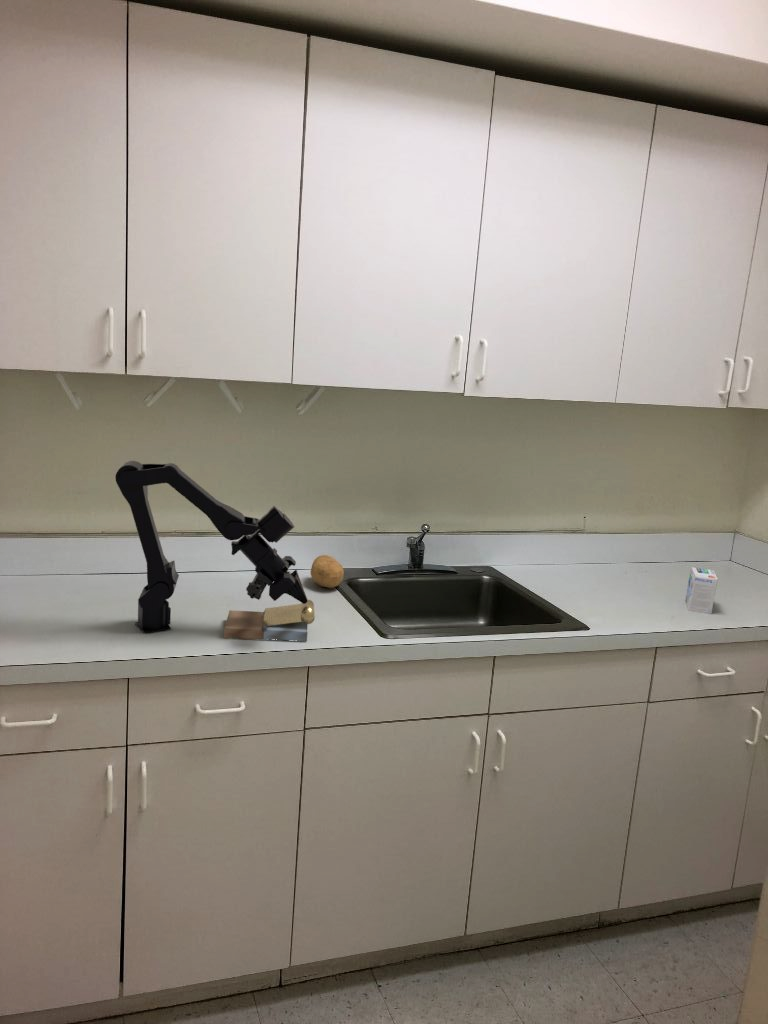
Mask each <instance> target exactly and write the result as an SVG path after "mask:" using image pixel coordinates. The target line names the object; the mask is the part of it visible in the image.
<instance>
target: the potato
mask: <svg viewBox="0 0 768 1024" xmlns="http://www.w3.org/2000/svg"><path fill="white" fill-rule="evenodd" d="M344 574H345V570H344V568H343V565H342V564H341V563H340V562H339V561H338V560H337V559H335V558H334V557H333V556H331V555H328V554H321V555H319V556H317V557H316V558H315V559H314V560H313V562H312V564H311V567H310V576H311V579H312V581H314V583H316V584H317V585H319V587H323V588H328V589H332V588H336V587H338V586H339V585H340V583H342V582H343V580H344Z"/></svg>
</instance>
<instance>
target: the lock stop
mask: <svg viewBox="0 0 768 1024" xmlns="http://www.w3.org/2000/svg"><path fill="white" fill-rule="evenodd" d="M307 600H308V602H307V603H305V604H303V603H302V602H301V603H296V604H290V605H288V604H287V605H281V606H273V607H266V608H264V610H265V614H264V625H267V626H271V625H279V624H287V623H295V622H303V623H304V624H307V625H311V624H312V623H314V621H315V617H316V615H315V603H314V601H312V600H311V599H307Z"/></svg>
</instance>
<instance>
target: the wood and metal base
mask: <svg viewBox="0 0 768 1024" xmlns="http://www.w3.org/2000/svg"><path fill="white" fill-rule="evenodd" d="M264 614H265V609H264V610H263V611H252V610H250V611H249V610H233V609H231V610H228V614H227V618H226V622H225V626H224V630H223V631H224V634H223V635H224V637H223V638H224V639H228V638H238V639H237V640H251V639H275V640H276V639H277V640H297V641H307V642H308V624H304V623H303V622H295V623H287V624H279V625H271V626H267V625H264ZM297 641H296V642H297Z"/></svg>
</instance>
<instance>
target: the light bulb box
mask: <svg viewBox="0 0 768 1024" xmlns="http://www.w3.org/2000/svg"><path fill="white" fill-rule="evenodd" d="M689 571H690V573H689V577H688V581H687V582H688V584H687V588H686V592H685V593H686V594H685V598H684V599H685V604H686V608H687V611H690V612H696V613H701V614H702V613H703V614H708V615H712V612H713V607H714V602H715V601H714V600H715V596H716V591H717V585H718V580H719V578H718V577H717V575H716V572H715V570H713V569H705V568H699V567H693V566H691V567H690V570H689Z"/></svg>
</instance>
